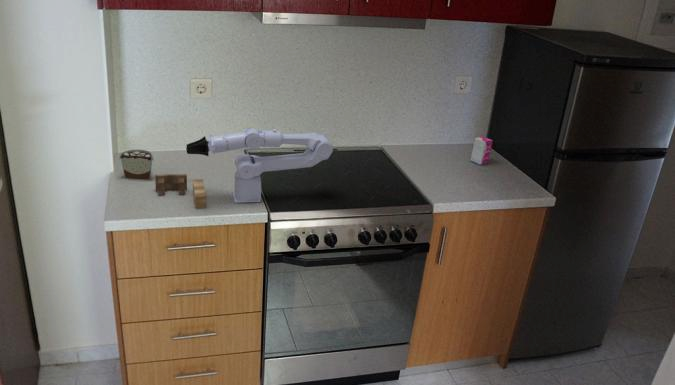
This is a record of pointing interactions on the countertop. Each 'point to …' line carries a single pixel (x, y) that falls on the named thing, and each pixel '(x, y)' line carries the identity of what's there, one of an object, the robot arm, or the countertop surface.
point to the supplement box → (481, 150)
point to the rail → (199, 194)
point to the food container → (137, 164)
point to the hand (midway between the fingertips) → (186, 149)
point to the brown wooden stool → (171, 183)
